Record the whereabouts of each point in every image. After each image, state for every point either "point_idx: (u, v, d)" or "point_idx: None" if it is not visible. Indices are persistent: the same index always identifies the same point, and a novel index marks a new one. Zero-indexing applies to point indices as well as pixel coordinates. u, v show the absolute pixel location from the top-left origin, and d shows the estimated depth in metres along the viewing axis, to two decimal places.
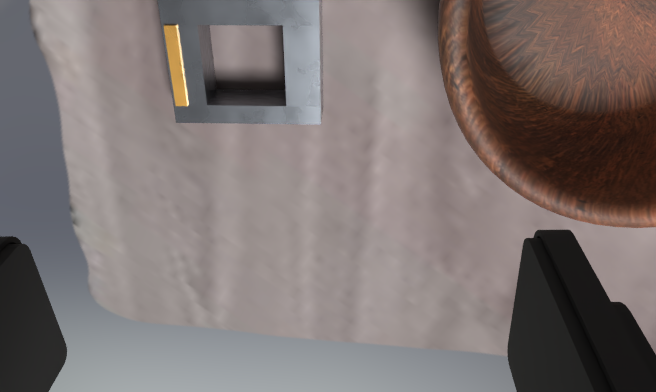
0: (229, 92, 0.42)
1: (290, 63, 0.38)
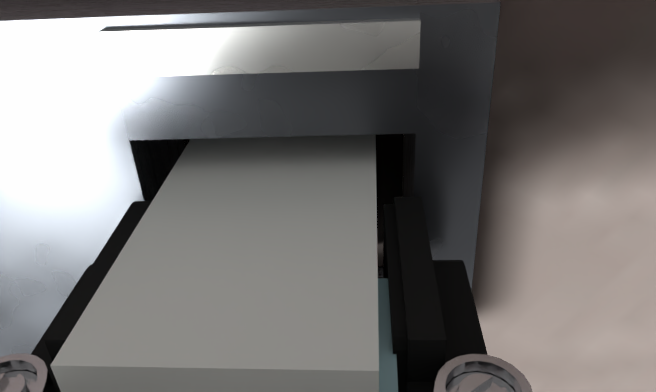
0: None
1: None
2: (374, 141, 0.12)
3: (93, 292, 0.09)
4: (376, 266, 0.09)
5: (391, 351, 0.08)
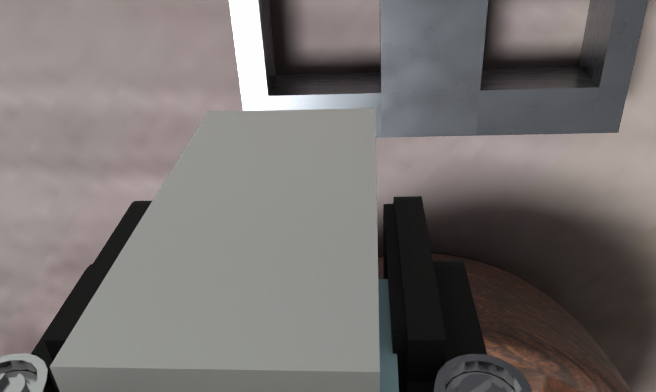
0: None
1: (329, 102, 0.28)
2: (374, 141, 0.12)
3: (93, 292, 0.09)
4: (377, 266, 0.08)
5: (392, 352, 0.08)
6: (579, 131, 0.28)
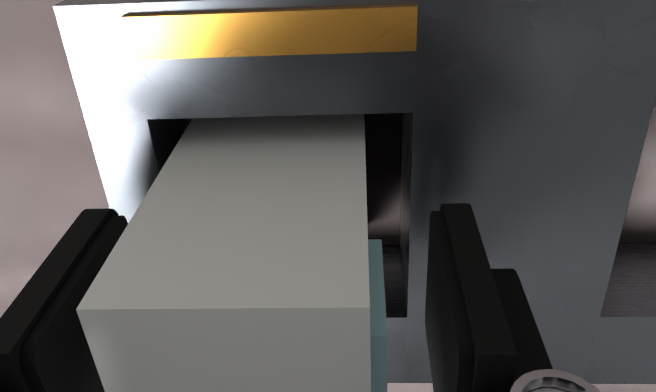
0: (186, 118, 0.15)
1: None
2: (363, 120, 0.13)
3: (30, 304, 0.09)
4: (366, 224, 0.09)
5: (380, 298, 0.09)
6: None
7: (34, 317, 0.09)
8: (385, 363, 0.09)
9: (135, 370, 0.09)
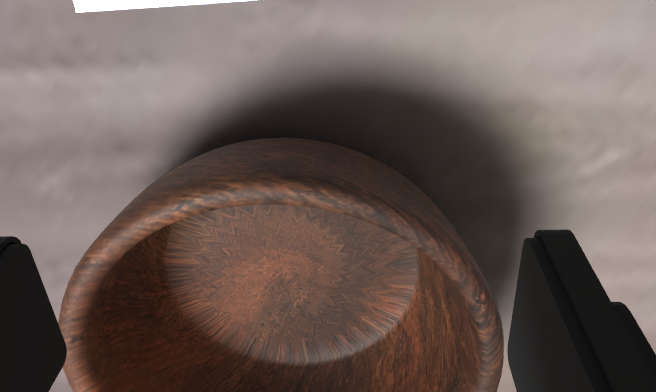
0: None
1: None
2: None
3: None
4: None
5: None
6: None
7: None
8: None
9: None
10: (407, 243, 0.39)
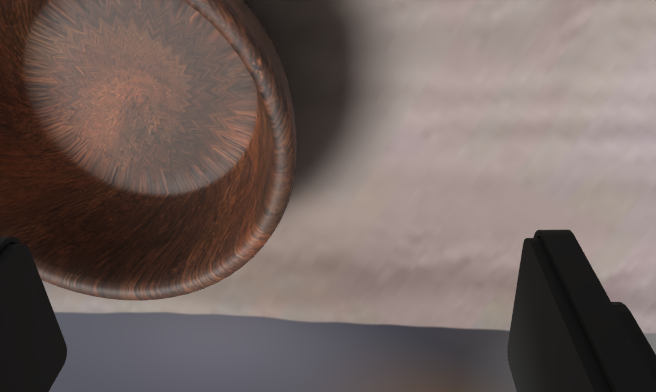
0: None
1: None
2: None
3: None
4: None
5: None
6: None
7: None
8: None
9: None
10: (244, 65, 0.43)
